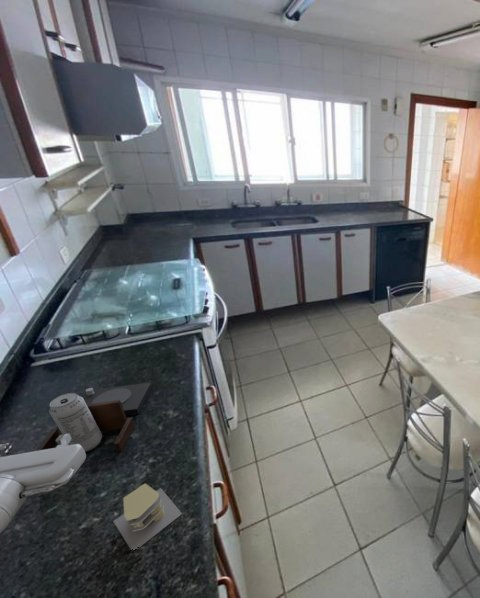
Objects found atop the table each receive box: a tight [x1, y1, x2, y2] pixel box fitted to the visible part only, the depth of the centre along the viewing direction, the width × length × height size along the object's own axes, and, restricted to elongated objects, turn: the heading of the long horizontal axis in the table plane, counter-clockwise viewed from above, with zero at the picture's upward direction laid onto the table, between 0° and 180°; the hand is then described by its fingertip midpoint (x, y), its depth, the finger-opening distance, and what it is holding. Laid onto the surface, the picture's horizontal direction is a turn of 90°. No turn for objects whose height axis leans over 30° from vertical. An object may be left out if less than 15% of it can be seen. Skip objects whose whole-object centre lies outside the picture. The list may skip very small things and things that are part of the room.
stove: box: [82, 381, 153, 417], centre depth 96 cm, size 16×12×4 cm
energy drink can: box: [48, 392, 103, 453], centre depth 81 cm, size 6×6×15 cm
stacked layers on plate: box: [112, 483, 183, 551], centre depth 68 cm, size 10×9×6 cm
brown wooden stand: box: [35, 400, 136, 453], centre depth 82 cm, size 17×10×9 cm, turn 109°
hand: (37, 440), depth 68 cm, fingers open, 8 cm apart
